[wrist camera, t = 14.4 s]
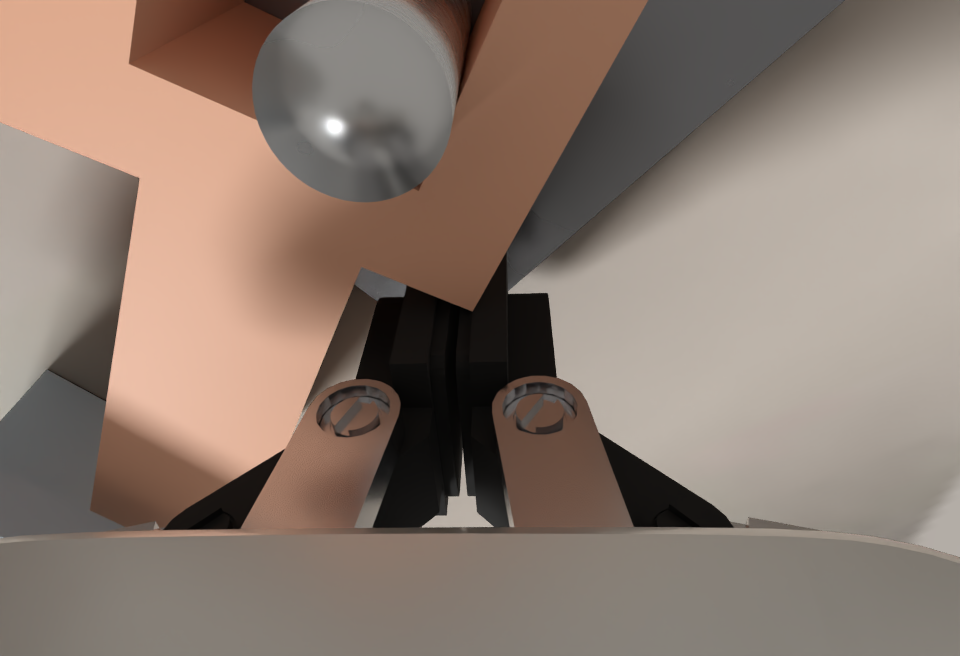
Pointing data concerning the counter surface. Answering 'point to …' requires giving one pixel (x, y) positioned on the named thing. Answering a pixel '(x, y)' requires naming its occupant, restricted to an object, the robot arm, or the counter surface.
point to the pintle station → (435, 84)
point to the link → (271, 211)
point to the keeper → (51, 461)
